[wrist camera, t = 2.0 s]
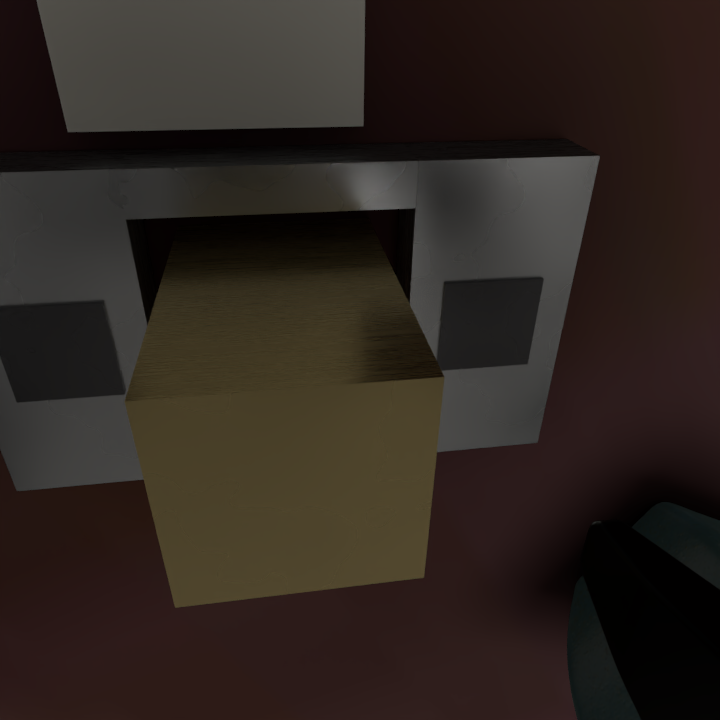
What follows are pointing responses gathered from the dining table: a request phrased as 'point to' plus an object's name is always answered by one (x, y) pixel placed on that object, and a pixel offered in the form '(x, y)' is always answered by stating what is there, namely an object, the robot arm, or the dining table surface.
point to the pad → (206, 63)
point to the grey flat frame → (276, 196)
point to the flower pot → (585, 635)
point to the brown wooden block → (285, 412)
